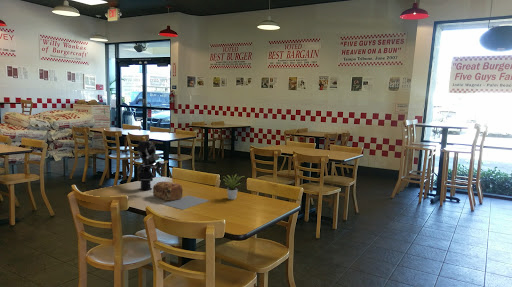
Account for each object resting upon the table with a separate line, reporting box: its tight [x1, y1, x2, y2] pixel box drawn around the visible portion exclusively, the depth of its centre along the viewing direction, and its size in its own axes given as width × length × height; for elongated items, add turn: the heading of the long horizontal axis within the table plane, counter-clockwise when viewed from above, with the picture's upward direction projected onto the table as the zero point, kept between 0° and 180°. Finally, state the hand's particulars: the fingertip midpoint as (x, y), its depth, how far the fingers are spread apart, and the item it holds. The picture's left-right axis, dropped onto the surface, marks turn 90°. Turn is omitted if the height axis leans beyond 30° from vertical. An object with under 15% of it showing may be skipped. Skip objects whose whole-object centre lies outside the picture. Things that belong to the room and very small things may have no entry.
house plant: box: [222, 173, 245, 200], centre depth 237 cm, size 14×14×16 cm
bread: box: [152, 181, 184, 201], centre depth 233 cm, size 19×11×10 cm, turn 48°
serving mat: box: [161, 195, 210, 211], centre depth 225 cm, size 18×24×1 cm
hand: (157, 176), depth 237 cm, fingers open, 6 cm apart
